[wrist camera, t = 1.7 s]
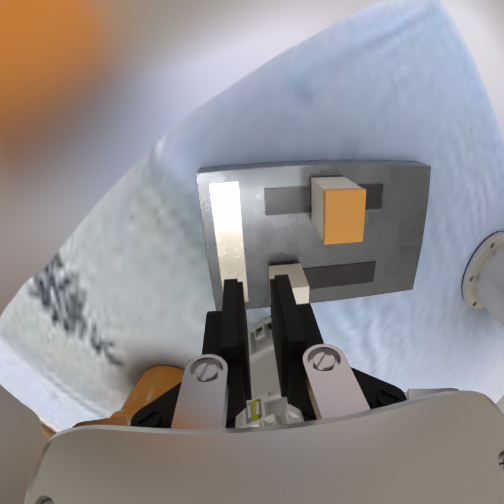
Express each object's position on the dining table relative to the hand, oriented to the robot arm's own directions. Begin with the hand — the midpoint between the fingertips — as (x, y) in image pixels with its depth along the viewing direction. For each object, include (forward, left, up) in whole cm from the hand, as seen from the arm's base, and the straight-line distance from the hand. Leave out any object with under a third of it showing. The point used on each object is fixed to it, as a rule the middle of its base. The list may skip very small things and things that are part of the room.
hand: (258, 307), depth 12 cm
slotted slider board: (-7, +4, -17) cm, 19 cm away
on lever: (-3, +8, -14) cm, 17 cm away
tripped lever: (-7, 0, -14) cm, 16 cm away
